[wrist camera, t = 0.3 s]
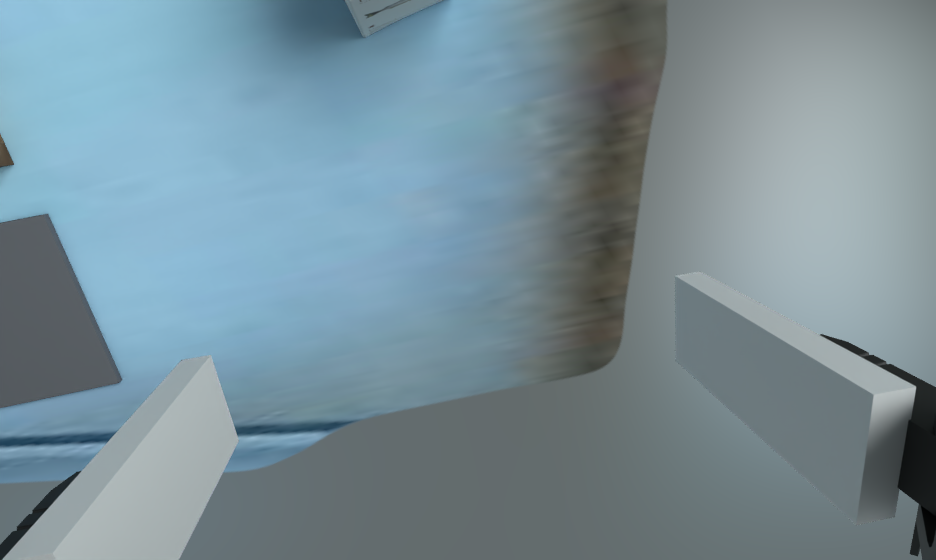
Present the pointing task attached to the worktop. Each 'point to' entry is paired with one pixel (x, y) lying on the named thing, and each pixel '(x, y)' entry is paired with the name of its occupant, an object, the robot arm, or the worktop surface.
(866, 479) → the robot arm
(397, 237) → the worktop surface
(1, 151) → the walnut collar
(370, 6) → the supplement box
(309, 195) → the worktop surface
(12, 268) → the charcoal mat
